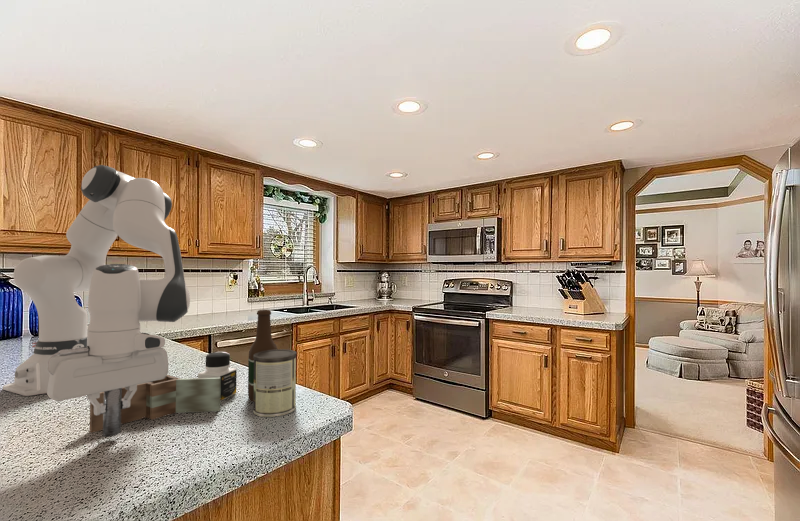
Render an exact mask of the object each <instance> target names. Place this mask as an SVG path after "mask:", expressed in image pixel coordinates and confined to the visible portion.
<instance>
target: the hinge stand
mask: <svg viewBox="0 0 800 521" xmlns="http://www.w3.org/2000/svg"><path fill="white" fill-rule="evenodd" d="M127 391H128V390H126V389H125V387H124V388H122V399H123V398H124V396H125V394H126V392H127ZM220 397H221V378H198V377H195V378H194V377H193V378H192V377H191V378H187V377H186V378H180V377H177V376H173V375H169V374H167V376H166V377H165V378H164V379H161V380H157V381H152V382H147V383H143V384H138V385H137V390H136V392H135V394H134V395H133V397H132V398H131V401H130V407H129V408H125V409H121V425H124V424H128V423H131V422H135V421H137V420H141V419H145V418H147V419H149V420H151V421H152V420H157V419H159V418H163V417H166V416H169V415H172V414H177V413H178V414H180V413H183V414H184V413H205V412H207V413H208V412H210V413H211V412H220V411H221V401H220ZM96 399H97V401H98V402H99V404H101V403H103V404H104V392H100V398H96ZM99 431H103V414H101V415H97V416H96V415H94V406H93V405H92V403H91V402H90V401H89V433H91V434H92V433H93V434H94V433H95V432H99Z"/></svg>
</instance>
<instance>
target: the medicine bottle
mask: <svg viewBox="0 0 800 521" xmlns="http://www.w3.org/2000/svg"><path fill="white" fill-rule="evenodd" d="M230 363H231V355H230V353H228V352H226V351H214V352H210V353H208V354H206V356H205V369H206V370H204V371H201V372H198V374H197V378H221V397H220V402H222V401H224V400H226V399H228V398H230V397H232V396H235V395H236V394H237V368H234V367H233V368H232V367H230V366H231V364H230Z"/></svg>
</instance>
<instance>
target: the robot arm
mask: <svg viewBox="0 0 800 521" xmlns="http://www.w3.org/2000/svg"><path fill="white" fill-rule="evenodd" d="M80 190H81V193H82V194H83V196H84V197H85V198H87V199H88V201H87V202H86V203H85V204H84V205H83V208H82V209H80V211H79V213H78V215H77V216H76V217H75V219H74V220H73V222H72V223H71V225H70V226H69V227H68V229H67V230H66V234H65V236H66V239H67V241H68V242H69V243H70V246H71V247H70V249H69V251H68V253H67V254H65V255H47V254H45V255H39V256H32V257H27V258H24V259H22V260H20V261H19V262H18V263H17V265H16V266H15V267H14V270H13V280H14V283H15V284H16V286H17V287H18V288H19V289H20V290H22V291H23V292H24V293H26V294H27V295H28V296H29V297H30V299H31V300H32V302H33V304H34V306H35V308H36V311H37V315H38V340H37V341H36V342H32V346H31V347H32V348H34V349H33V352H32V353H33V354H32V355H30V357H28V358H27V359H26V360H24V361H23V362H22V363H21V364H19V365H18V366H17V367H16V369H15V372H14V379H13V380H14V382H10V383H8V384H5V385H3V386H2V390H3V391H7V392H9V393H14V394H17V395H20V396H24V397H30V396H36V395H43V394H47V396H48V397H49V398H50V399H52V400H53V401H55V402H63V401H66V400H71V399H77V398H80V397H85V396H86V399H87V400H88V401H89V403H90V402H91V403H92V405H93V406H94V415H96V416H97V415H101V414H104V413H106V410H105V409H106V405H105V404H103V403H101V404H99V402H98V401H97V399H96V398H100V392H105V391H110V390H114V389H119V388H124V387H125V389H126V390H128V391H127V392H126V394H125V396H124V398H123V399H122V406H121V409H125V408H129V407H130V401H131V398H132V397H133V395H134V394H135V392H136V390H137V385H138V384H143V383H147V382H152V381H157V380H161V379H164V378H165V377H166V376H167V375H169V356H168V352H167V350H166V349H165V348H164V346H165V344H166V338H164V337H162V336H160V335H154V334H150V333H148V332H141V322H142V323H143V322H163V323H164V322H165V323H176V322H177V321H178V320H180V319H181V318H182V317H184V316H185V315H186V314H187V313H188V312H189V308H190V304H191V297H190V292H189V288H188V285H187V283H186V280H185V276H184V274H185V273H184V266H183V261H182V260H183V259H182V253H181V247H180V244H179V237H178V234H177V232H176V231H175V229H174V228H172V227H170V226H168V225H167V223H166V222H165V220H166V219H167V218H168V216H169V215H170V213H171V211H172V207H173V201H172V199H171V197H170V196H169V195H168V194H167V193H165V192H164V189H163V188H162V187H161V186H160V184H158V183H157V181H154V180H152V179H150V178H145V177H137V178H136V177H133V176H132V175H129V174H126V173H125V172H122V171H119V170H116V168H114V167H111V166H108V165H104V164H99V165H95V166H93V167H92V168H90V170H88V171H87V172H86V173H85V174H84V176H83V177H82V180H81V187H80ZM118 237H119V238H120V239H121V240H122V241H124V242H125V243H126V244H129V245H130V246H132V247H135V248H138V249H142V250H146V251H150V252H152V253H154V254H157V255H158V256H160V257H162V259H163V264H164V266H163V267H164V273H165V277H163V278H158V279H140V274H139V269H138V267H136V266H134V265H131V264H125V263H110V264H106V259H107V256H108V255H107V254H108V252H109V250H110V248H111V247H112V245H113V244H114V242H115V240H116V239H117V238H118ZM77 292H78V293H80V292H88V302H87V304H88V306H87V310H88V311H87V310H86V309H85V308H84V307H83V306H80V305H79V303H78V301H77V300H76V297H75V293H77ZM88 313H89V315H88ZM88 317H90V318H89V320H88ZM88 321H89V324H88Z"/></svg>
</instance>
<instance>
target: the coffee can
mask: <svg viewBox="0 0 800 521" xmlns="http://www.w3.org/2000/svg"><path fill="white" fill-rule="evenodd" d="M253 358H254V402H253V411H252V412H253V414H254V415H255V416H256V417H261V418H276V417H275V416H277V417H282V416H286V415H289V414H291V413H292V412H294V411H295V410H296V408H297V406H296V400H297V399H296V397H297V396H296V394H297V393H296V392H297V389H296V388H297V386H296V384H297V383H296V382H297V381H296V379H297V378H296V377H297V374H296V372H297V351H295V350H292V349H287V348H286V349H284V348H282V349H280V348H279V349H278V348H277V349H276V350H266V351H261V352H258V353H255V354H254V355H253Z"/></svg>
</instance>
